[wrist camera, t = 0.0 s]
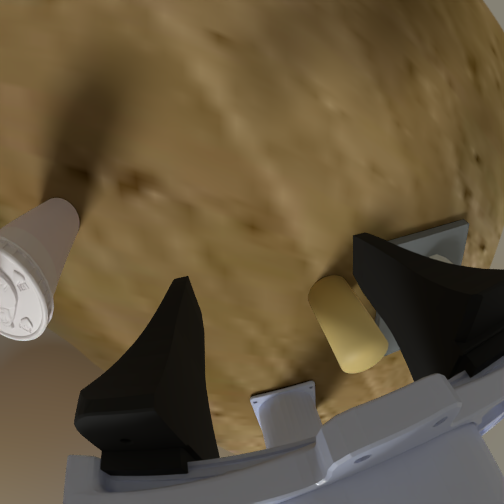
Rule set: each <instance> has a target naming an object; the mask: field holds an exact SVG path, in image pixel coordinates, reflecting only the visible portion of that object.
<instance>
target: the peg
mask: <svg viewBox="0 0 504 504" xmlns="http://www.w3.org/2000/svg"><path fill="white" fill-rule="evenodd" d="M308 301H309V304H310V306H311V308H312V310H313V312H314V314H315V316H316V318H317V320H318V322H319V324H320V326H321V328H322V330H323V332H324V334H325V336H326V338H327V340H328V342H329V344H330V346H331V348H332V350H333V352H334V354H335V356H336V358H337V360H338V363H339V365H340V367H341V369H342V370H343V371H344V372H346V373H359V372H362V371H365V370H367V369H369V368H371V367H372V366H374V365H375V364H376V363H378V362H379V361H380V360H381V359H382V358H383V357H384V355H385V354H386V352H387V350H388V341H387V340H386V338H385V337H384V335H383V334H382V332H381V331H380V329H379V328H378V326H377V325H376V323H375V322H374V320H373V319H372V317H371V316H370V314H369V313H368V311H367V310H366V308H365V307H364V305H363V304H362V303H361V301H360V300H359V298H358V297H357V295H356V294H355V293H354V291H353V290H352V288H351V287H350V285H349V284H348V283H347V281H346V280H345V279H344V278H343V277H341V276H338V275H330V276H327V277H324V278H322V279H320V280H319V281H317V282H316V283H315V284H314V285H313V287H312V288H311V290H310V292H309V295H308Z"/></svg>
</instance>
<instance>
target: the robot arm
mask: <svg viewBox="0 0 504 504" xmlns="http://www.w3.org/2000/svg"><path fill="white" fill-rule="evenodd" d="M353 275H354V277H355V279H356V281H357V283H358V285H359V286H360V288H361V290H362V292H363V293H364V294H365V296H366V297H367V299H368V300H369V301H370V303H371V304H372V306H373V307H374V308H375V310H376V311H377V312H378V314H379V315H380V317H381V318H382V319H383V321H384V322H385V323H386V325H387V326H388V328H389V330H390V331H391V333H392V335H393V337H394V338H395V340H396V342H397V344H398V346H399V348H400V350H401V352H402V354H403V357H404V359H405V361H406V363H407V365H408V368H409V370H410V372H411V375H412V377H413V380H414V382H413V383H411V384H409V385H406V386H404V387H402V388H400V389H398V390H395V391H393V392H391V393H388V394H386V395H384V396H381V397H379V398H376V399H374V400H371V401H369V402H366V403H364V404H361V405H358V406H356V407H353V408H351V409H349V410H346V411H344V412H342V413H340V414H338V415H336V416H334V417H333V418H332V419H330V420H329V421H327V422H326V423H325V424H323V425H322V423H321V420H320V417H319V415H318V412H317V409H316V403H315V383H314V381H308V382H305V383H302V384H298V385H295V386H291V387H287V388H284V389H280V390H276V391H272V392H268V393H264V394H260V395H256V396H252V397H251V398H250V401H251V404H252V407H253V409H254V412H255V414H256V417H257V419H258V422H259V424H260V427H261V429H262V431H263V436H264V440H265V444H266V448H267V449H265V450H260V451H255V452H250V453H245V454H240V455H235V456H229V457H223V458H220V457H219V452H218V448H217V444H216V439H215V435H214V430H213V425H212V420H211V414H210V409H209V403H208V396H207V390H206V381H205V344H204V327H203V320H202V313H201V310H200V307H199V305H198V302H197V299H196V297H195V294H194V291H193V288H192V286H191V283H190V280H189V277H188V276H186V277H181V278H177V279H174V280H173V282H172V284H171V285H170V287H169V289H168V291H167V293H166V295H165V297H164V299H163V300H162V302H161V304H160V306H159V307H158V309H157V311H156V313H155V314H154V316H153V317H152V319H151V321H150V322H149V324H148V325H147V327H146V328H145V330H144V331H143V332H142V334H141V335H140V336H139V338H138V339H137V340H136V341H135V343H134V344H133V345H132V346H131V347H130V348H129V349H128V350H127V351H126V353H125V354H124V355H123V356H122V357H121V358H120V359H119V360H118V361H117V362H116V363H115V364H114V365H113V366H112V367H111V368H109V369H108V370H107V371H106V372H105V373H104V374H102V375H101V376H100V377H99V378H97V379H96V380H95V381H93V382H92V383H91V384H90V385H88V386H87V387H85V388H84V389H82V390H81V391H80V395H79V399H78V404H77V409H76V414H75V420H74V425H75V427H76V429H77V430H78V431H79V432H80V434H81V435H82V436H84V437H85V438H86V439H87V440H88V441H90V442H91V443H92V444H94V445H95V446H96V447H97V448H99V449H100V450H101V451H102V455H101V459H100V458H98V457H94V456H82V455H69V456H68V460H67V468H66V476H65V486H64V499H63V504H504V476H503V474H502V473H501V470H500V469H499V467H498V465H497V463H496V461H495V459H494V458H493V456H492V454H491V452H490V450H489V449H488V447H487V445H486V443H485V442H484V440H483V439H482V435H484V434H485V433H486V432H487V431H489V430H490V429H491V428H492V427H494V426H495V425H496V424H497V423H498V422H500V421H501V420H502V419H503V418H504V270H499V269H498V270H497V269H481V268H472V267H466V266H460V265H455V264H450V263H446V262H442V261H439V260H436V259H432V258H429V257H426V256H423V255H420V254H418V253H415V252H412V251H410V250H407V249H405V248H402V247H400V246H398V245H395V244H393V243H391V242H388V241H386V240H384V239H381V238H379V237H376V236H374V235H371V234H368V233H361V234H357V235H353Z"/></svg>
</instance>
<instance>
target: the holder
mask: <svg viewBox="0 0 504 504" xmlns="http://www.w3.org/2000/svg"><path fill="white" fill-rule="evenodd" d="M468 228H469V223H468V222H467V221H465V220H464V219H463V220H459V221H456V222H452V223H449V224H446V225H442V226H439V227H435V228H432V229H428V230H425V231H421V232H418V233H414V234H411V235H407V236H404V237H400V238H397V239H393V240H390V241H388V242H391V243H393V244H395V245H398V246H400V247H402V248H405V249H407V250H410V251H412V252H415V253H418V254H420V255H423V256H426V257H429V258H432V259H436V260H439V261H442V262H446V263H450V264H455V265H460V266H461V263H462V258H463V254H464V249H465V244H466V239H467V233H468ZM375 323H376V325H377V326H378V328H379V329H380V331H381V332H382V334H383V335H384V337H385V338H386V340H387V341H388V350H387V352H386V354H385V355H384V356H386V355H388V354H391V353H393V352H396V351H398V350H400V348H399V346H398V344H397V342H396V340H395V338H394V337H393V335H392V333H391V331H390V330H389V328H388V326H387V325H386V323H385V322H384V321H383V319H382V318H381V317H380V315H379V314H378V312H377V311H376V318H375Z"/></svg>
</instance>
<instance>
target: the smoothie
mask: <svg viewBox="0 0 504 504" xmlns="http://www.w3.org/2000/svg"><path fill="white" fill-rule="evenodd" d="M79 224H80V223H79V216H78V214H77V211H76V210H75V208H74V207H73V206H72V205H71V204H70V203H69V202H68V201H66V200H64V199H61V198H52V199H49V200H47V201H46V202H44V203H42V204H40V205H38V206H37V207H35V208H33V209H32V210H30V211H28V212H27V213H25V214H23V215H22V216H20V217H18V218H17V219H15V220H13V221H12V222H10V223H9V224H7V225H5V226H4V227H2V228H1V229H0V334H1V335H3V336H5V337H7V338H11V339H14V340H20V341H28V340H33V339H35V338H37V337H39V336H40V335H41V334H42V333H43V332H44V330H45V328H46V326H47V324H48V323H49V321H50V320H51V318H52V314H53V309H54V303H53V295H54V293H55V290H56V286H57V283H58V281H59V278H60V275H61V272H62V270H63V267H64V264H65V262H66V259H67V257H68V254H69V252H70V249H71V247H72V244H73V242H74V240H75V237H76V235H77V233H78V230H79Z"/></svg>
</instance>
